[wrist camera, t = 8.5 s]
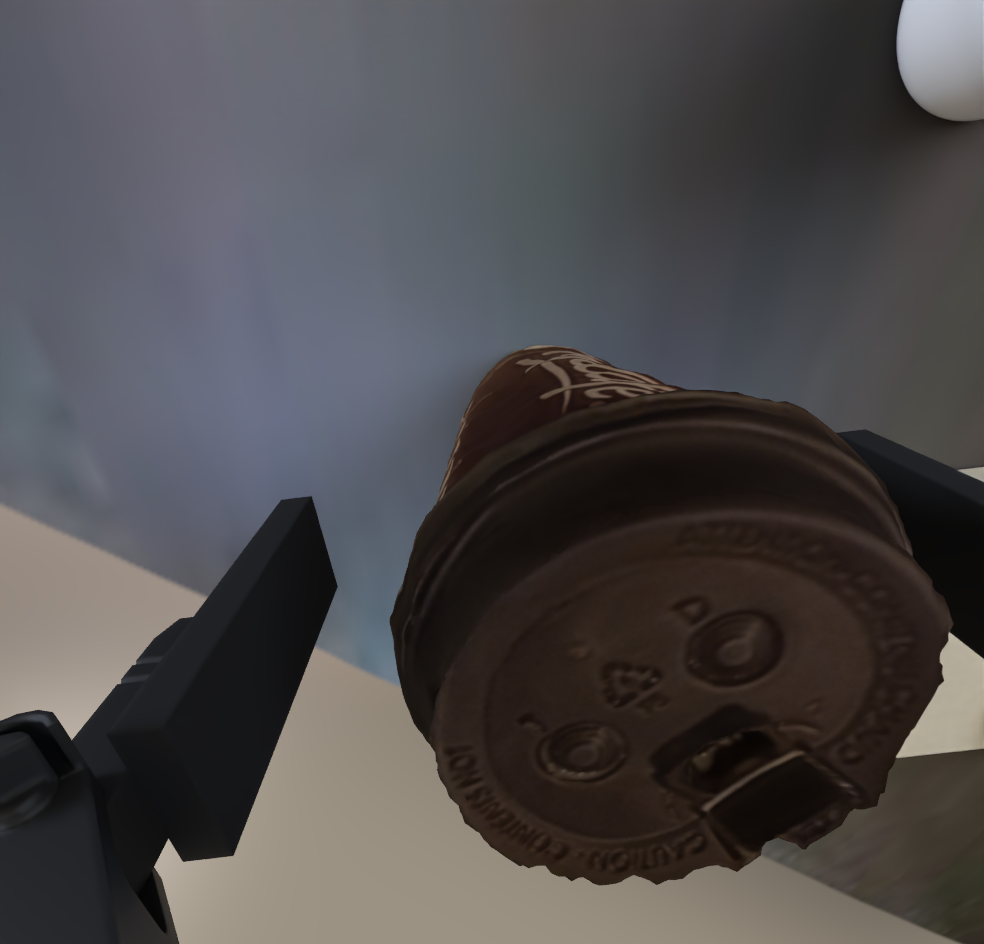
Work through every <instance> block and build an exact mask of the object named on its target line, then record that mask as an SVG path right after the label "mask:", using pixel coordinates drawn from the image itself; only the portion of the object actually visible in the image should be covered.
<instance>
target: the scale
mask: <svg viewBox="0 0 984 944" xmlns="http://www.w3.org/2000/svg"><path fill="white" fill-rule="evenodd" d="M958 471H960V472H962V473H965V474H967V475H969V476H971V477H974V478H976V479H978V480H980V481H983V482H984V467H978V468H970V469H961V470H958ZM948 638H949V641H948V642H947V644H946V645H945V647H944V648H943V649H942V651H941V654H940V663H941V664H942V665H943V669H942V674H943V678H944V682H943V683H942V684H940V685H939V687H938V689H937V691H936V693H935V695H934V696H933V698H932V700H931V701H930V703H929V704H928V706H927V708H926V709H925V711H924V713H923V714H922V716H921V718H920V719H919V721H918V723H917V725H916V727H915V728H914V729H913V730H911V732H910V735H909V736H908V737H907V738H906V740H905V742H904V744H903V746H902V748H901V750H900V751H899V753H898V754H897V756H896V758H901V757H910V756H920V755H929V754H938V753H947V752H956V751H965V750H975V749H984V659H983V658H982V657H980V656H979V655H978V654H977V653H975V652H974V651H973V650H971V649H970V648H969V647H968V646H966V645H965V644H964V643H963V642H961V641H960V640H959V639H958V638H956V637H955V636H954V635H952V634H951V633H950V632H949V634H948Z"/></svg>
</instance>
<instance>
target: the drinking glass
mask: <svg viewBox="0 0 984 944" xmlns="http://www.w3.org/2000/svg"><path fill="white" fill-rule="evenodd" d="M897 61H898V66H899V71H900V74H901V78H902V80H903V83H904V85H905V87H906V89H907V91H908V92H909V94H910V95H911V97H912V98H913V99H914V101H915V102H916V103H917V104H918V105H919V106H920V107H922V108H923V109H924V110H926V111H927V112H929V113H931V114H932V115H935V116H937V117H940V118H943V119H947V120H952V121H976V120H983V119H984V0H904V1H903V4H902V8H901V12H900V16H899V22H898V28H897Z"/></svg>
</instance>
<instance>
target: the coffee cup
mask: <svg viewBox="0 0 984 944" xmlns="http://www.w3.org/2000/svg"><path fill="white" fill-rule="evenodd" d="M932 582H933V581H932V579H931V578H930V577H929V575H928V574H927V573H926V572H925V571H924V570H923V569H922V568H921V567H920V566H919V565H918V563H917V562H916V561H915V559H914V558H913V552H912V546H911V542H910V540H909V539H908V537H907V535H906V532H905V530H904V524H903V522H902V521H901V518H900V516H899V512H898V507H897V505H896V504H895V503H894V502H893V500H892V499H891V498H890V496H889V493H888V490H887V487H886V484H885V483H884V482H883V481H882V480H881V478H880V477H879V476H878V475H877V474H876V473H875V472H874V471H873V470H872V469H871V468H870V467H869V466H868V465H867V464H866V462H865V461H864V460H863V459H862V458H861V457H860V456H859V455H858V454H857V453H856V452H855V451H854V450H853V449H852V448H851V447H850V446H849V445H848V444H847V443H846V442H845V441H844V440H843V439H842V438H841V437H840V436H838V435H837V434H836V433H835V432H834V431H833V430H832V429H830V428H829V427H828V426H827V425H825V424H824V423H823V422H821V421H820V420H819V419H818V418H816V417H815V416H813V415H812V414H811V413H809V412H808V411H806V410H805V409H803V408H801V407H799V406H797V405H794V404H792V403H789V402H786V401H785V402H774V401H772V400H769V399H758V398H755V397H751V396H747V395H743V394H740V393H738V392H723V391H714V390H686V389H683V388H680V387H677V386H671V385H665V384H664V383H662V382H661V381H659V380H657V379H655V378H653V377H651V376H649V375H646V374H641V373H638V372H633V371H627V370H622V369H618V368H616V367H614V366H612V365H611V364H609V363H608V362H606V361H604V360H601V359H598V358H595V357H593V356H591V355H588V354H586V353H584V352H582V351H579V350H577V349H575V348H569V347H561V346H548V345H544V346H542V345H537V346H531V347H527V348H526V349H524V350H518V351H514V352H513V353H511V354H510V355H508V356H507V357H505V358H504V359H502V360H501V361H500V362H498V363H497V364H496V365H495V366H494V367H493V368H492V369H491V370H490V371H489V373H488V374H487V375H486V376H485V377H484V379H483V380H482V381H481V383H480V384H479V386H478V387H477V389H476V390H475V392H474V394H473V397H472V399H471V401H470V403H469V406H468V408H467V409H466V411H465V413H464V415H463V417H462V420H461V424H460V430H459V432H458V435H457V438H456V441H455V445H454V448H453V451H452V453H451V456H450V458H449V461H448V467H447V471H446V473H445V477H444V479H443V482H442V485H441V488H440V492H439V497H438V499H437V503H436V505H435V506H434V507H433V509H432V510H431V511H430V512H429V513H428V514H427V515H426V517H425V519H424V521H423V523H422V525H421V526H420V528H419V530H418V532H417V534H416V537H415V540H414V544H413V549H412V552H411V554H410V558H409V563H408V567H407V570H406V573H405V577H404V580H403V584H402V586H401V587H400V589H399V591H398V594H397V597H396V601H395V605H394V610H393V613H392V615H391V617H390V626H391V631H392V635H393V639H394V651H395V658H396V664H397V670H398V675H399V679H400V683H401V688H402V692H403V696H404V699H405V702H406V704H407V707H408V709H409V711H410V714H411V717H412V719H413V722H414V724H415V725H416V727H417V728H418V730H419V731H420V732H421V733H422V734H423V736H424V737H425V739H426V741H427V742H428V743H429V744H430V745H431V747H432V748H433V750H434V751H435V753H436V762H437V763H438V769H437V771H438V774H439V777H440V780H441V781H442V782H443V784H444V785H445V787H446V789H447V792H448V795H449V797H450V798H451V799H452V800H453V801H454V802H455V803H456V804H458V805H459V809H460V812H461V814H462V816H463V819H464V822H465V823H466V824H467V825H469V826H470V827H471V828H473V829H474V830H475V831H477V832H479V833H480V834H481V836H482V837H483V839H484V840H485V841H486V842H487V843H488V844H489V845H490V847H492V848H494V849H495V850H497V851H498V852H499V853H501V854H502V855H504V856H505V857H506V858H508V859H509V860H511V861H513V862H514V863H516V864H517V865H519V866H522V865H524V866H526V867H528V868H531V867H534V866H540V865H544V866H546V867H547V868H548V869H549V871H550V872H551V873H552V874H554V875H556V876H565V877H567V878H568V879H569V880H571V881H573V880H575V879H577V878H579V877H584V878H586V879H587V880H589V881H591V882H592V883H594V884H597V885H609V884H615V883H618V882H621V881H623V880H624V879H626V878H628V877H630V876H632V875H636V876H639V877H642V878H645V879H647V880H650V881H651V882H653V883H655V884H656V885H658V884H660V883H662V882H664V881H667V880H677V879H683V878H684V877H685V876H686V875H688V874H689V873H690V872H692V871H693V870H696V869H700V868H703V867H706V866H713V865H719V866H721V867H727V868H729V869H732V870H734V871H736V872H737V871H739V870H740V869H741V868H743V867H744V866H745V865H747V864H749V863H750V862H752V861H753V860H755V859H756V858H757V857H759V856H760V855H761V851H762V847H763V845H764V844H765V842H767V841H770V840H773V839H775V838H781V839H783V840H786V841H789V842H793V843H796V844H797V845H798V846H799V847H800V848H801V849H806V848H807V847H808V846H809V845H810V844H812V843H813V842H815V841H817V840H819V839H820V838H822V837H823V836H825V835H827V834H828V833H830V832H831V831H833V830H834V829H836V828H838V827H839V826H841V825H842V823H843V822H844V820H845V818H846V817H847V815H848V814H849V812H850V811H852V810H853V809H867V808H870V807H875V806H877V804H878V800H879V796H880V794H881V793H884V792H885V787H886V782H887V776H888V771H889V770H890V769H891V768H892V766H893V765H894V762H895V759H896V756H897V754H898V753H899V751H900V750H901V748H902V746H903V744H904V742H905V740H906V738H907V737H908V736H909V735H910V732H911V730H913V729H914V728H915V727H916V725H917V723H918V721H919V719H920V718H921V716H922V714H923V713H924V711H925V709H926V708H927V706H928V704H929V703H930V701H931V700H932V698H933V696H934V695H935V693H936V691H937V689H938V687H939V685H940V684H942V683H943V682H944V678H943V674H942V669H943V665H942V664H941V663H940V654H941V651H942V649H943V648H944V647H945V645H946V644H947V642H948V641H949V638H948V634H949V632H950V630H951V628H952V626H953V624H954V623H953V621H952V618H951V615H950V611H949V608H948V606H947V603H946V601H945V598H944V596H942V595H941V594H939V593H938V592H936V591H935V589H934V588H933V586H932Z"/></svg>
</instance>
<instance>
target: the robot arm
mask: <svg viewBox="0 0 984 944" xmlns="http://www.w3.org/2000/svg"><path fill="white" fill-rule="evenodd" d="M836 434H837V435H838V436H840V437H841V438H842V439H843V440H844V441H845V442H846V443H847V444H848V445H849V446H850V447H851V448H852V449H853V450H854V451H855V452H856V453H857V454H858V455H859V456H860V457H861V458H862V459H863V460H864V461H865V462H866V464H867V465H868V466H869V467H870V468H871V469H872V470H873V471H874V472H875V473H876V474H877V475H878V476H879V477H880V478H881V480H882V481H883V482H884V483H885V484H886V487H887V490H888V493H889V496H890V498H891V499H892V500H893V502H894V503H895V504H896V505H897V507H898V512H899V516H900V518H901V521H902V522H903V524H904V530H905V532H906V535H907V537H908V539H909V540H910V542H911V546H912V552H913V558H914V559H915V561H916V562H917V563H918V565H919V566H920V567H921V568H922V569H923V570H924V571H925V572H926V573H927V574H928V575H929V577H930V578H931V579H932V581H933V582H932V586H933V588H934V589H935V591H936V592H938V593H939V594H941V595H942V596H944V598H945V601H946V603H947V606H948V608H949V611H950V615H951V618H952V621H953V623H954V624H953V626H952V628H951V630H950V633H951V634H952V635H954V636H955V637H956V638H958V639H959V640H960V641H961V642H963V643H964V644H965V645H966V646H968V647H969V648H970V649H971V650H973V651H974V652H975V653H977V654H978V655H979V656H980V657H982V658H983V659H984V482H983V481H980V480H978V479H976V478H974V477H971V476H969V475H967V474H965V473H962V472H960V471H958V470H956V469H953V468H951V467H949V466H947V465H944V464H942V463H940V462H938V461H935V460H933V459H931V458H929V457H926V456H924V455H922V454H920V453H917V452H915V451H913V450H911V449H908V448H906V447H904V446H902V445H899V444H897V443H895V442H893V441H890V440H888V439H886V438H884V437H881V436H879V435H877V434H874V433H872V432H870V431H868V430H857V431H849V432H841V433H836ZM337 587H338V586H337V583H336V579H335V576H334V572H333V569H332V565H331V562H330V558H329V555H328V551H327V548H326V544H325V541H324V538H323V534H322V531H321V527H320V524H319V520H318V517H317V513H316V510H315V506H314V503H313V499H312V496H310V497H302V498H293V499H285V500H281V501H280V502H279V504H278V505H277V506H276V508H275V509H274V510H273V512H272V513H271V514H270V516H269V517H268V518H267V520H266V521H265V522H264V524H263V525H262V526H261V528H260V529H259V530H258V532H257V533H256V534H255V536H254V537H253V538H252V540H251V541H250V542H249V544H248V545H247V546H246V548H245V549H244V550H243V552H242V553H241V554H240V556H239V557H238V558H237V560H236V561H235V562H234V564H233V565H232V566H231V568H230V569H229V570H228V572H227V573H226V574H225V576H224V577H223V578H222V580H221V581H220V582H219V584H218V585H217V586H216V588H215V589H214V590H213V592H212V593H211V594H210V596H209V597H208V598H207V600H206V601H205V602H204V604H203V605H202V606H201V608H200V609H199V610H198V612H197V613H196V614H195V616H194V617H190V618H182V619H179V620H178V621H176V622H175V623H174V624H173V625H171V626H170V627H169V628H167V629H166V630H165V631H163V632H162V633H161V634H160V635H158V636H157V637H156V638H154V640H153V641H152V642H151V643H150V645H149V646H148V647H147V648H146V650H145V651H144V652H143V653H142V654H141V656H140V657H139V658H138V659H137V661H136V662H137V663H136V665H132V667H131V668H130V669H129V670H128V672H127V673H126V674H125V675H124V677H123V678H122V679H121V684H117V685H116V686H115V688H114V689H113V690H112V692H111V693H110V694H109V695H108V696H107V698H106V699H105V700H104V701H103V703H102V704H101V705H100V706H99V708H98V709H97V710H96V711H95V712H94V714H93V715H92V716H91V717H90V719H89V720H88V721H87V722H86V724H85V725H84V726H83V727H82V729H81V730H80V731H79V732H78V733H77V735H76V736H75V737H74V738H73V740H71V739H70V737H69V736H68V734H67V733H66V731H65V729H64V728H63V726H62V725H61V723H60V722H59V720H58V719H57V717H56V716H55V715H54V713H53V712H48V711H42V710H35V711H30V712H25V713H20V714H16V715H14V716H11V717H9V718H7V719H4V720H1V721H0V944H179V941H178V937H177V934H176V930H175V926H174V923H173V919H172V915H171V912H170V908H169V904H168V901H167V897H166V893H165V889H164V886H163V882H162V879H161V877H160V876H159V874H158V873H157V871H156V869H155V868H154V866H155V863H156V861H157V860H158V858H159V856H160V854H161V852H162V850H163V848H164V846H165V844H166V842H167V840H168V838H169V840H170V841H171V843H172V844H173V846H174V848H175V849H176V851H177V853H178V854H179V856H180V858H181V859H182V861H183V862H185V861H194V860H202V859H211V858H218V857H227V856H233V855H234V853H235V850H236V848H237V845H238V842H239V840H240V837H241V835H242V832H243V830H244V827H245V825H246V822H247V819H248V817H249V814H250V812H251V809H252V806H253V804H254V801H255V799H256V796H257V794H258V791H259V788H260V786H261V783H262V780H263V778H264V775H265V773H266V770H267V768H268V765H269V763H270V760H271V757H272V755H273V752H274V750H275V747H276V744H277V742H278V739H279V736H280V734H281V732H282V729H283V726H284V724H285V721H286V718H287V716H288V713H289V711H290V708H291V706H292V703H293V700H294V698H295V695H296V693H297V690H298V687H299V685H300V682H301V680H302V677H303V675H304V672H305V669H306V667H307V664H308V662H309V659H310V656H311V654H312V651H313V649H314V646H315V644H316V641H317V638H318V636H319V633H320V631H321V628H322V626H323V623H324V620H325V618H326V615H327V613H328V610H329V607H330V605H331V602H332V600H333V597H334V595H335V592H336V589H337Z"/></svg>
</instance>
